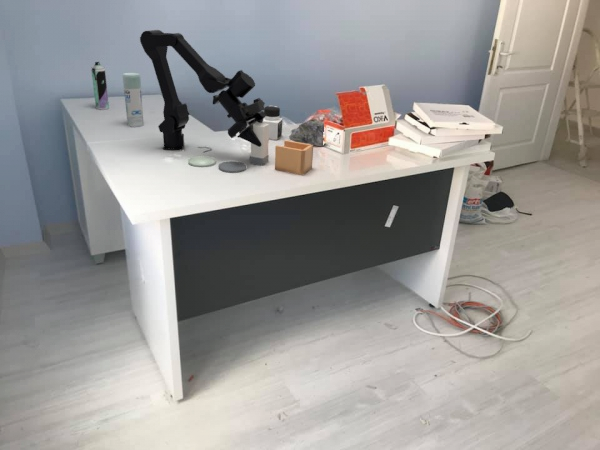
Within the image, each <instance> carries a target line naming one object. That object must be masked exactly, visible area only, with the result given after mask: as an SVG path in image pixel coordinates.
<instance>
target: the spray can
mask: <svg viewBox="0 0 600 450" xmlns="http://www.w3.org/2000/svg"><path fill="white" fill-rule="evenodd" d="M90 71H91V78H92V85H93V93H94V103H95V108H96V110H100V111H101V110H103V111H104V110H109V109H110V105H109V103H110V102H109V96H108V86H107V85H108V84H107V78H106V77H107V76H106V69H105V67H104V66H102V64H101V63H100V61H95V63H94V65H93V66H92V67H91V70H90Z"/></svg>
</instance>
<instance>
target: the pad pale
mask: <svg viewBox="0 0 600 450" xmlns="http://www.w3.org/2000/svg"><path fill="white" fill-rule="evenodd" d="M187 162H188V165H190V166H193V167H197V168H208V167H212V166H214V165H216V163H217V160H216V158H215V157H212V156H210V155H209V156H207V155H197V156H196V155H195V156H192V157H189V158H188V160H187Z"/></svg>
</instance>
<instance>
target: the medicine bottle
mask: <svg viewBox="0 0 600 450" xmlns="http://www.w3.org/2000/svg"><path fill="white" fill-rule="evenodd" d="M264 108H265V110H263V112H264V113H265V114H266V115H267V116H266V117H265V118H264V119H263V122H262V123H266V124H269V140H273V141H279V139H280V138H282V135H283V118H281V117H280V116H281V115H280V114H281V108H280V107H278V106H277V105H276V106H275V105H268V106H264Z"/></svg>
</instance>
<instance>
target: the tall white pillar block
mask: <svg viewBox="0 0 600 450" xmlns="http://www.w3.org/2000/svg"><path fill="white" fill-rule="evenodd" d="M253 132H254V133H255V134H256V136H257V138H258V139H259V141H260V142H261V144H262V145H261V146H260V147H258V146H257V145H255V144H253V143H251V142H250V157H249V159H250V160H249V161H250V164H253V165H257V166H265V165H266V164H267V163H269V146H270V145H269V142H270V141H269V140H270V139H269V124H266V123H259V122H256V123H254V124H253Z"/></svg>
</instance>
